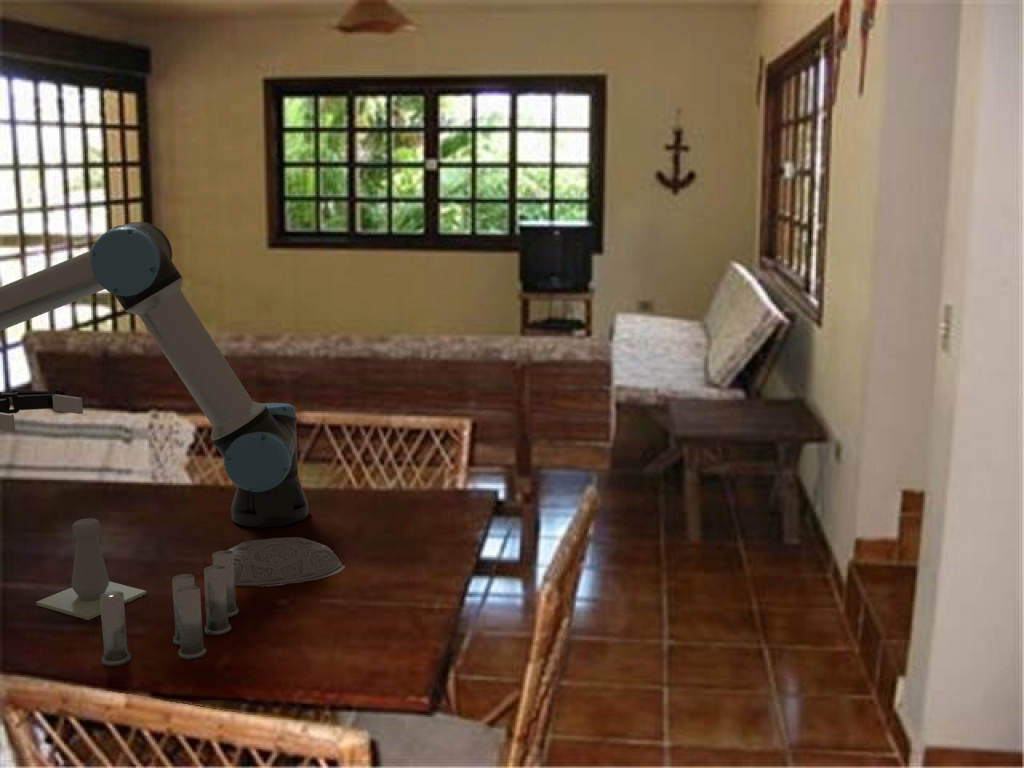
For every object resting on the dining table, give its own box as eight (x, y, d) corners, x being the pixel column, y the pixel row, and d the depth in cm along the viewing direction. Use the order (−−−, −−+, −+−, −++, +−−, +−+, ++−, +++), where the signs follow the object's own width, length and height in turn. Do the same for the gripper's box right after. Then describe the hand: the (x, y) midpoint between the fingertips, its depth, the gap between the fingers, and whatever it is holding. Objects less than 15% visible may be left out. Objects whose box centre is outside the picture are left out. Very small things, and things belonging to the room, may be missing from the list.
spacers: (237, 607, 185) (234, 548, 183) (253, 650, 169) (250, 586, 167) (99, 626, 178) (94, 565, 176) (102, 673, 162) (97, 606, 160)
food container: (201, 559, 206) (201, 524, 204) (341, 554, 212) (342, 521, 210) (200, 600, 191) (200, 563, 189) (350, 593, 198) (351, 558, 196)
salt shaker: (77, 605, 184) (71, 528, 181) (68, 594, 189) (62, 519, 186) (114, 597, 187) (109, 521, 185) (104, 586, 192) (99, 512, 189)
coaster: (95, 581, 196) (95, 577, 196) (146, 594, 190) (146, 590, 190) (36, 605, 186) (36, 601, 186) (88, 620, 180) (88, 616, 180)
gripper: (27, 408, 211) (108, 420, 201) (-100, 438, 190) (-16, 454, 180) (23, 368, 210) (105, 378, 200) (-106, 394, 188) (-22, 407, 178)
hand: (47, 414), depth 190 cm, fingers open, 13 cm apart
